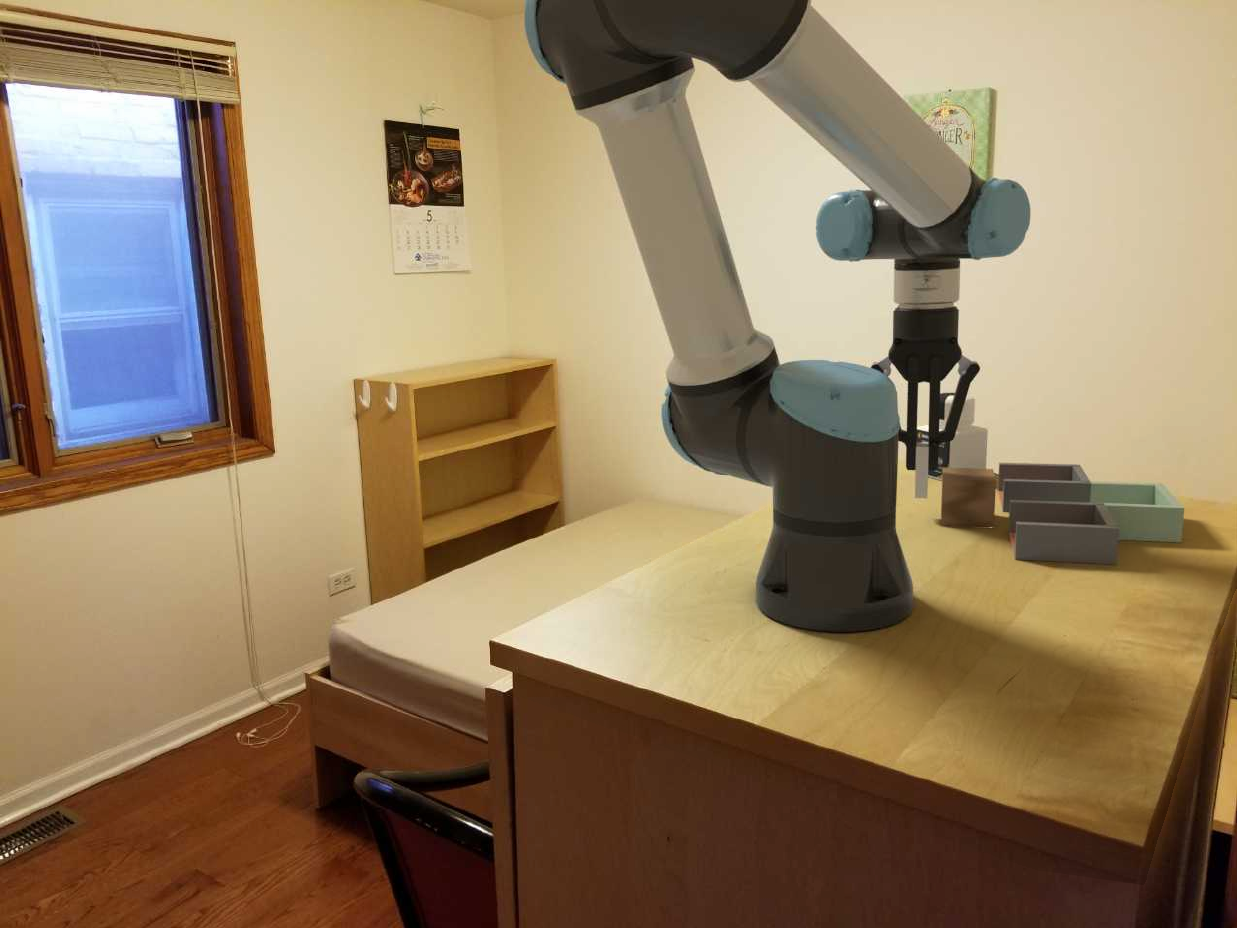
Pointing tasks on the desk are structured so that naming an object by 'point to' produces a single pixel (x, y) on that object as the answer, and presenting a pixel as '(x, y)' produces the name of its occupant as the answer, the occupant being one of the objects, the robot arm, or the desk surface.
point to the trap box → (1081, 513)
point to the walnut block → (968, 497)
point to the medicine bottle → (958, 439)
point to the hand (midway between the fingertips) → (921, 495)
